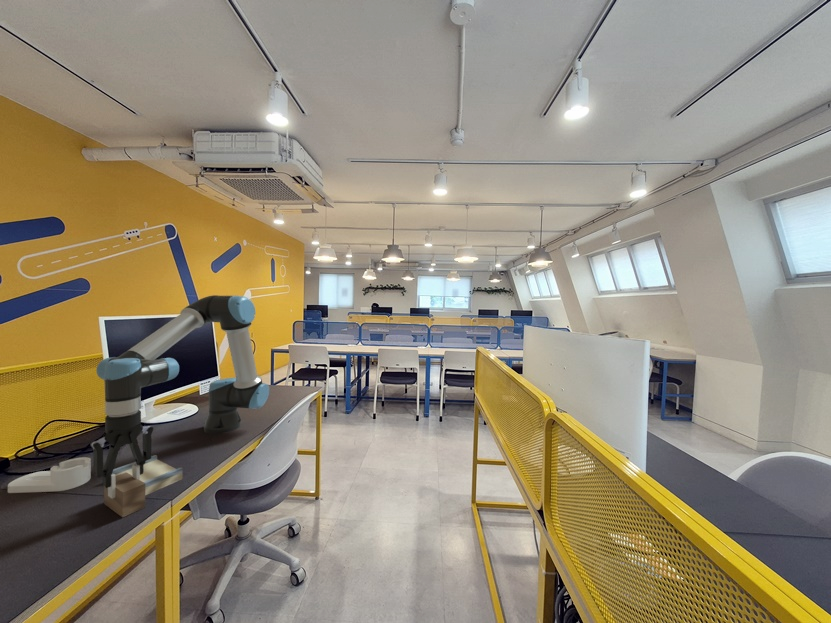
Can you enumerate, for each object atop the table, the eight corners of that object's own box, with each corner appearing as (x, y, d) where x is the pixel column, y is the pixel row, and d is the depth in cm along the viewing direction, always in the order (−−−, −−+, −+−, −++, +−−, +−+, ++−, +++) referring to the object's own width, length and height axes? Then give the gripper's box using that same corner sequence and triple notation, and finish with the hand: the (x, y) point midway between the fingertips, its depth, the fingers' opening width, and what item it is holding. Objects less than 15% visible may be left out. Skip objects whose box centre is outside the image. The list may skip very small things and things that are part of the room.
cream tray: (155, 465, 112) (155, 454, 112) (182, 479, 104) (182, 468, 104) (111, 481, 102) (111, 469, 102) (137, 498, 93) (137, 486, 93)
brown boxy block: (125, 494, 95) (126, 472, 95) (144, 507, 89) (145, 483, 89) (103, 503, 90) (104, 480, 90) (122, 517, 85) (123, 492, 85)
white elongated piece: (98, 476, 105) (98, 456, 105) (72, 491, 96) (72, 470, 96) (31, 478, 103) (32, 458, 103) (-1, 494, 94) (-1, 472, 94)
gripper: (154, 401, 99) (154, 472, 99) (74, 420, 83) (75, 504, 84) (166, 405, 95) (166, 479, 96) (85, 426, 79) (86, 514, 80)
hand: (124, 491), depth 90 cm, fingers closed on brown boxy block, 5 cm apart
